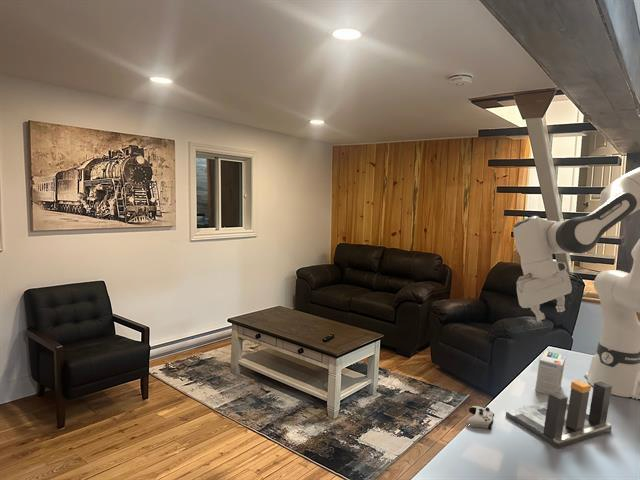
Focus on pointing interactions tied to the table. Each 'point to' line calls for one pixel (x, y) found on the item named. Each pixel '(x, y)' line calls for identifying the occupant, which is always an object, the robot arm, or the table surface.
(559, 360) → the light bulb box
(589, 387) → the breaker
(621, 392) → the robot arm
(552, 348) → the table surface
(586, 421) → the grey peg stand
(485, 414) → the game controller
